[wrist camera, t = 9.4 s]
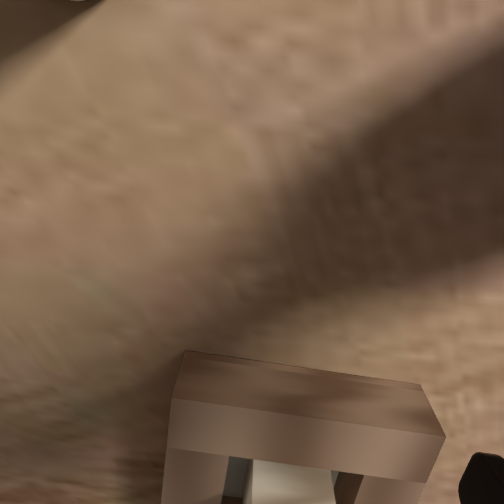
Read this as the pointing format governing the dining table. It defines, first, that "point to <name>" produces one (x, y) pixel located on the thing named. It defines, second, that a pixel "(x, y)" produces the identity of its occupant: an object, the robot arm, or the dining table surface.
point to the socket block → (295, 430)
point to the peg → (286, 484)
